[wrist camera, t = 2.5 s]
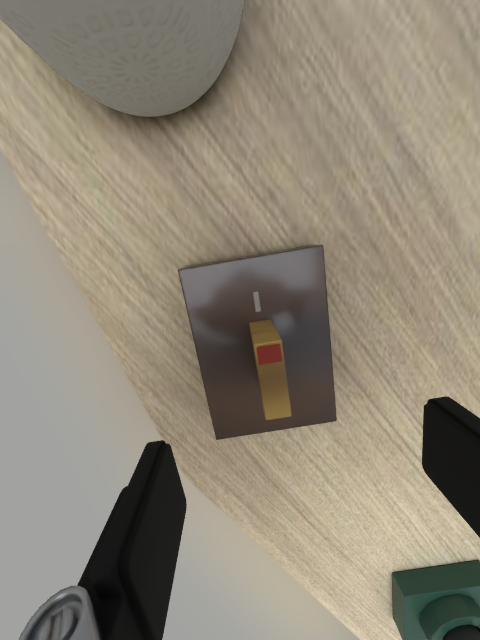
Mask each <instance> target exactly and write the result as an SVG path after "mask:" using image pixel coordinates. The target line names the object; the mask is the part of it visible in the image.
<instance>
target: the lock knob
mask: <svg viewBox="0 0 480 640" xmlns="http://www.w3.org/2000/svg"><path fill="white" fill-rule="evenodd" d="M249 327H250V333H251V339H252V345H253V351H254V357H255V364H256V370H257V376H258V382H259V387H260V393H261V398H262V403H263V409H264V414H265V419H266V420H271V419H277V418H284V417H290V416H291V407H290V399H289V392H288V384H287V376H286V369H285V361H284V353H283V346H282V340H281V338H280V336H279V334H278V332H277V331H276V329H275V327H274V325H273V323H272V321H271V320H270V319H269V320H263V321H257V322H250V323H249Z"/></svg>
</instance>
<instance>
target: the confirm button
mask: <svg viewBox="0 0 480 640" xmlns="http://www.w3.org/2000/svg"><path fill="white" fill-rule="evenodd" d="M443 639H444V640H480V632H479V631H478V629H477V628H476V626H474V625H470V624H467V625H460V626H457V627H455V628H453V629H451V630H449V631H448V632H447V633H446V634H445V635H444V636H443Z"/></svg>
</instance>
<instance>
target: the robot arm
mask: <svg viewBox="0 0 480 640" xmlns="http://www.w3.org/2000/svg"><path fill="white" fill-rule="evenodd" d="M422 466H423V469H424V471H425V473H426V474H427V476H428V477H429V478H430V479H431V480H432V482H433V483H434V484H435V485H436V486H437V488H438V489H439V490H440V491H441V492H442V494H443V495H444V496H445V497H446V498H447V499H448V501H449V502H450V503H451V504H452V505H453V507H454V508H455V509H456V510H457V511H458V512H459V514H460V515H461V516H462V517H463V518H464V520H465V521H466V522H467V523H468V524H469V525H470V527H471V528H472V529H473V530H474V531H475V533H476V534H477V535H478V536H479V537H480V418H479V417H477V416H476V415H474V414H473V413H471V412H470V411H468V410H467V409H466V408H464V407H463V406H461V405H460V404H458V403H457V402H456V401H454V400H453V399H451V398H449V397H440V398H434V399H429V400H428V402H427V404H425V405H424V418H423V449H422ZM185 513H186V498H185V494H184V491H183V487H182V484H181V480H180V477H179V473H178V470H177V466H176V463H175V459H174V456H173V452H172V449H171V446H170V444H166V443H165V441H163V440H162V441H156V442H149V443H147V445H146V446H145V449H144V451H143V453H142V455H141V458H140V460H139V462H138V464H137V467H136V469H135V471H134V473H133V476H132V478H131V480H130V482H129V485H128V486H127V487H125V488H123V490H122V491H121V493H120V495H119V497H118V499H117V501H116V503H115V506H114V508H113V510H112V512H111V514H110V516H109V518H108V521H107V523H106V525H105V527H104V529H103V531H102V534H101V536H100V538H99V540H98V542H97V545H96V546H95V549H94V551H93V553H92V555H91V557H90V559H89V562H88V564H87V566H86V568H85V570H84V572H83V574H82V577H81V579H80V581H79V583H78V585H77V586H70V587H67V588H65V589H62V590H60V591H59V592H57V593H56V594H54V595H53V596H52V597H50V598H49V599H48V600H47V601H46V602H45V603H44V604H43V605H42V606H40V607H39V609H38V610H37V611H36V612H35V614H34V615H33V616H32V618H31V619H30V620H29V622H28V623H27V625H26V627H25V628H24V630H23V632H22V633H21V635H20V638H19V640H162V638H163V633H164V627H165V622H166V617H167V611H168V605H169V600H170V595H171V590H172V584H173V579H174V573H175V568H176V562H177V557H178V551H179V546H180V541H181V535H182V530H183V524H184V519H185Z"/></svg>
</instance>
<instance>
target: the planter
mask: <svg viewBox="0 0 480 640" xmlns="http://www.w3.org/2000/svg"><path fill="white" fill-rule="evenodd" d="M244 1H245V0H0V19H1V20H2V21H3V22H4V23H5V24H6V25H7V26H8V27H9V28H10V29H11V30H12V31H13V32H14V33H15V34H16V35H17V36H18V37H19V38H20V39H21V40H22V41H24V42H25V43H26V44H27V45H28V46H29V47H30V48H31V49H32V50H33V51H34V52H35V53H37V54H38V55H39V56H40V57H41V58H42V59H43V60H44V61H45V62H46V63H47V64H49V65H50V66H51V67H52V68H53V69H54V70H55V71H56V72H57V73H58V74H59V75H61V76H62V77H63V78H64V79H65V80H67V81H68V82H69V83H70V84H72V85H73V86H75V87H76V88H77V89H79V90H80V91H82V92H83V93H84V94H86V95H87V96H89V97H90V98H92V99H93V100H95V101H97V102H99V103H101V104H103V105H105V106H107V107H109V108H112V109H114V110H117V111H120V112H123V113H126V114H131V115H136V116H144V117H155V116H163V115H168V114H172V113H175V112H177V111H180V110H182V109H184V108H186V107H188V106H189V105H191V104H192V103H194V102H195V101H197V100H198V99H199V98H200V97H201V96H202V95H203V94H204V93H205V92H206V91H207V90H208V89H209V88H210V87H211V86H212V84H213V83H214V82H215V80H216V79H217V77H218V76H219V74H220V73H221V71H222V69H223V67H224V66H225V64H226V62H227V60H228V57H229V55H230V53H231V50H232V48H233V45H234V43H235V40H236V37H237V33H238V30H239V26H240V21H241V16H242V11H243V6H244Z"/></svg>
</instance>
